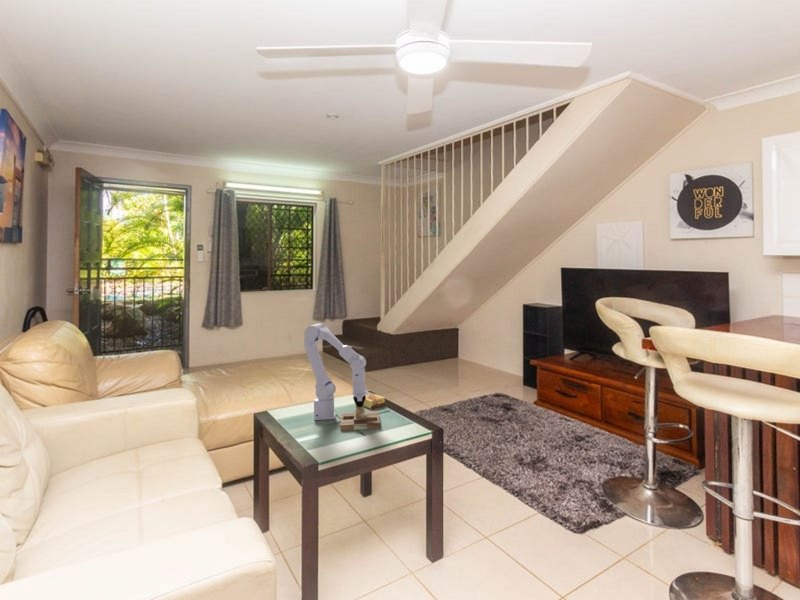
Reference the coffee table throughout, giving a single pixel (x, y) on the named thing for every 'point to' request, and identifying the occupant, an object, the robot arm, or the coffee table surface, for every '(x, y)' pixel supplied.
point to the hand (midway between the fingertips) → (359, 411)
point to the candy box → (373, 400)
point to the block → (360, 412)
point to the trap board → (360, 421)
